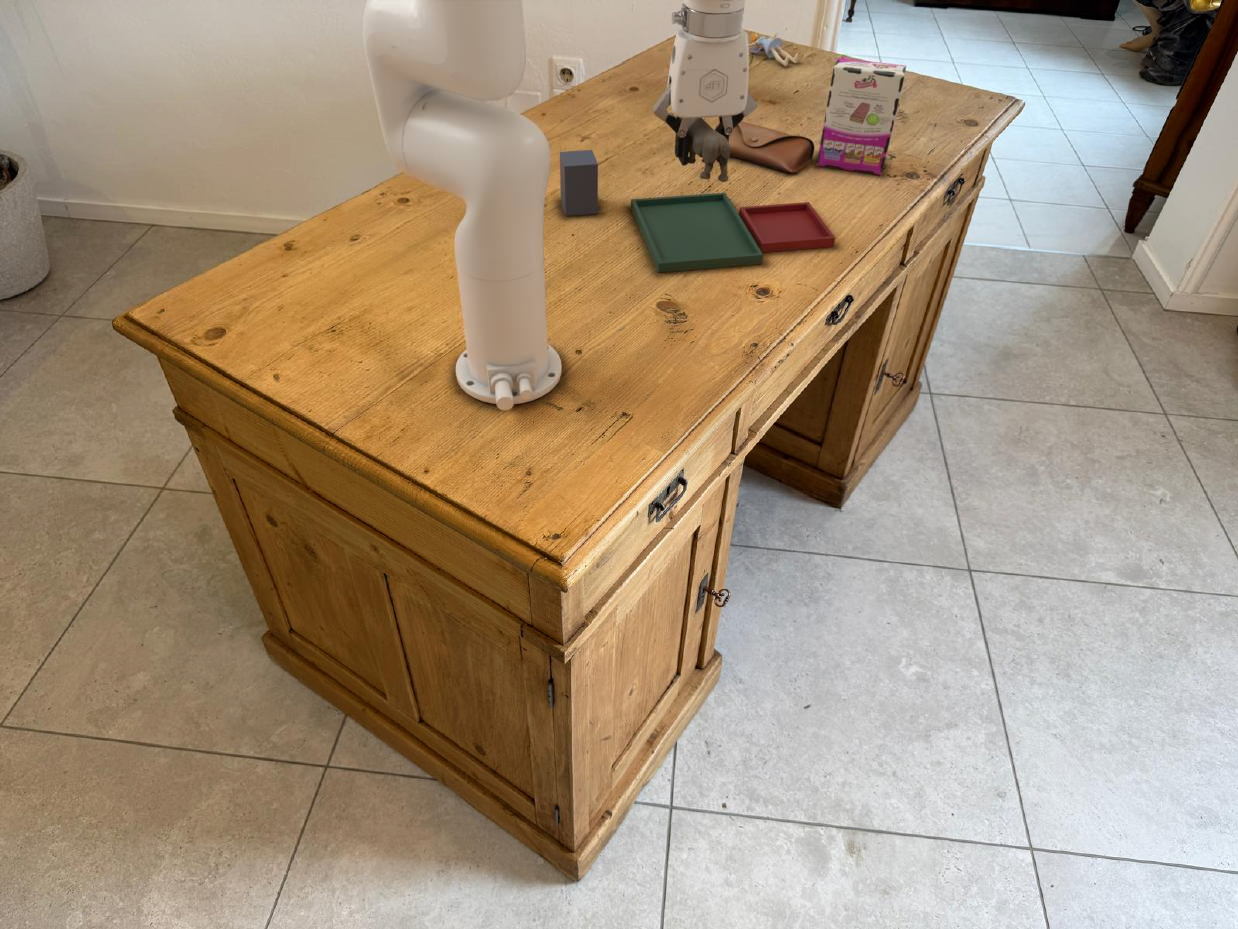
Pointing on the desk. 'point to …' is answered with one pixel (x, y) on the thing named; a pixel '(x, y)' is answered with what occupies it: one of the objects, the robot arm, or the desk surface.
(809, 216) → the burgundy tray
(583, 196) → the block
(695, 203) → the green tray
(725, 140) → the rhino figurine
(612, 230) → the desk surface
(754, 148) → the sunglasses case
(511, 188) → the robot arm
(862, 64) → the candy bar box
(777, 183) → the desk surface
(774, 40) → the fairy figurine
